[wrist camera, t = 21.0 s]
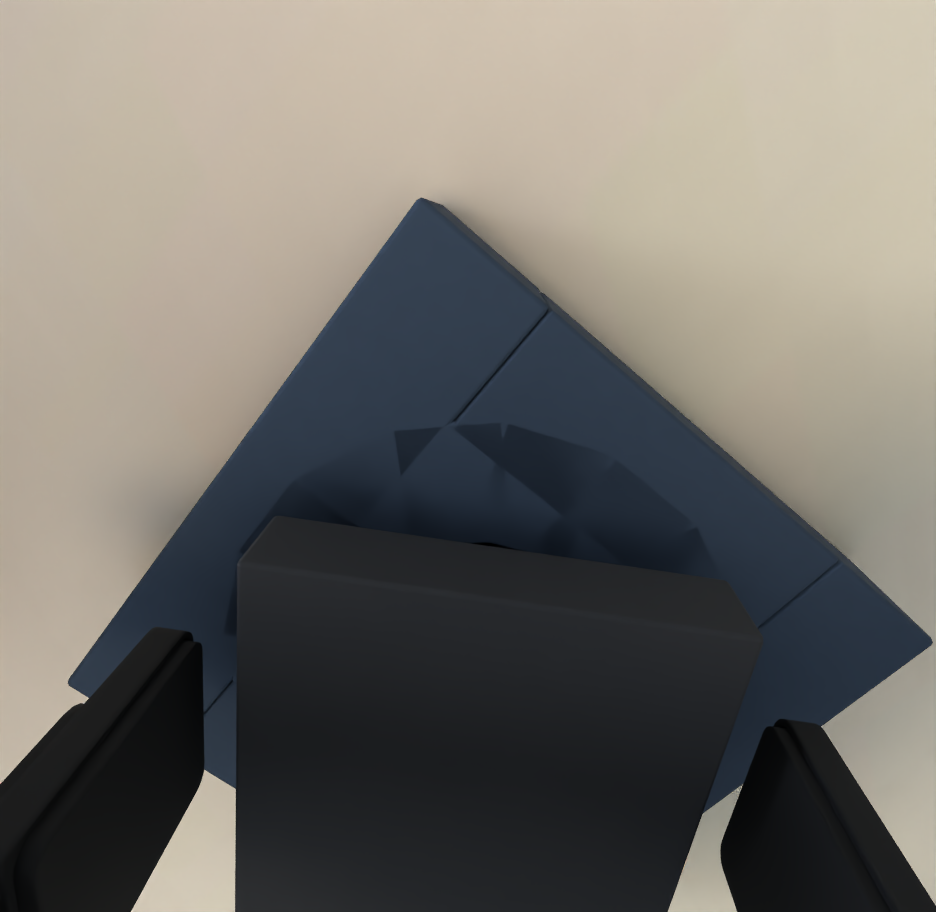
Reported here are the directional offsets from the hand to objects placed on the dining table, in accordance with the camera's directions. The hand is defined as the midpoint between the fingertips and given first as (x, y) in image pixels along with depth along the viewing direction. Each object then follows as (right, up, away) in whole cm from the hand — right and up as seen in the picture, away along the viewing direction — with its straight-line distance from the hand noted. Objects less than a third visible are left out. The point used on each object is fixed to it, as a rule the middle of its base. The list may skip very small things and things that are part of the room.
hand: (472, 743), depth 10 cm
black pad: (0, +2, +5) cm, 5 cm away
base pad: (0, +2, +5) cm, 5 cm away
